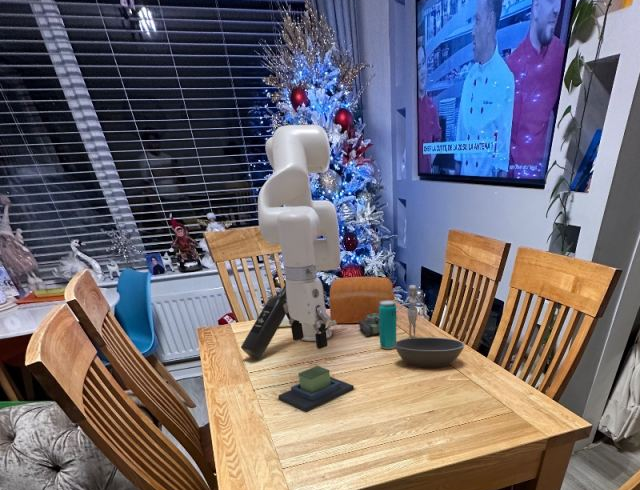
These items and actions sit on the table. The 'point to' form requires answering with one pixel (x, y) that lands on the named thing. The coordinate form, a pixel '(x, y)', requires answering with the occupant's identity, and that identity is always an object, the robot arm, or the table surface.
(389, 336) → the beverage can
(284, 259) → the robot arm
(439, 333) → the table surface
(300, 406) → the black pad
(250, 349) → the wine bottle
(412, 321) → the human figurine
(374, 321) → the toy tank
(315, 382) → the green block
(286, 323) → the earbud case
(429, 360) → the bowl
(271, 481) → the table surface
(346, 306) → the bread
